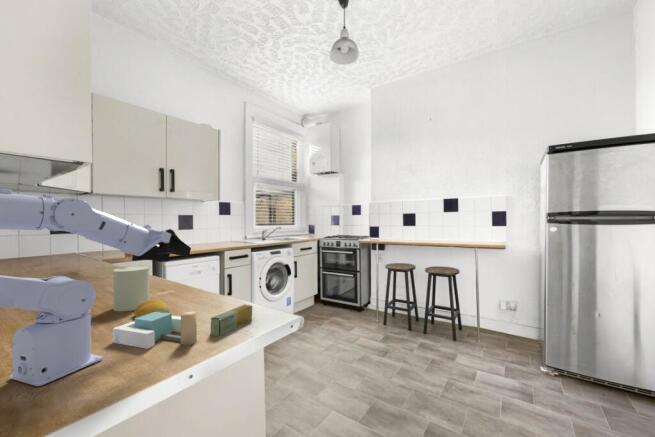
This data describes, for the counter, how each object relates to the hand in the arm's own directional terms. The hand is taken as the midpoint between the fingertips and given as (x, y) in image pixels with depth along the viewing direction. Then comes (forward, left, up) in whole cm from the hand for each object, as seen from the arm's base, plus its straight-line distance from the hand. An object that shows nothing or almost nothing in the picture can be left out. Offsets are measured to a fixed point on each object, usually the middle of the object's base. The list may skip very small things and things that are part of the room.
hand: (178, 254), depth 69 cm
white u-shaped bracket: (-5, +2, -18) cm, 18 cm away
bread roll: (+6, +16, -18) cm, 24 cm away
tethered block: (-5, -3, -18) cm, 19 cm away
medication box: (+5, -11, -18) cm, 22 cm away
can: (+10, +29, -18) cm, 35 cm away
